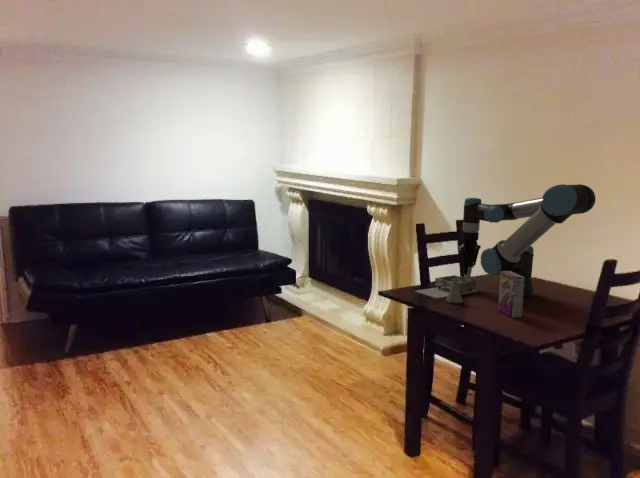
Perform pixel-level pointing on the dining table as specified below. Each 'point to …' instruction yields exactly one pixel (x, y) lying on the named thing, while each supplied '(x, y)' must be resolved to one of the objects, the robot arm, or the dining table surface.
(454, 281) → the flask
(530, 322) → the dining table surface
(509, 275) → the candy bar box
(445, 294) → the mat
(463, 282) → the square tray
